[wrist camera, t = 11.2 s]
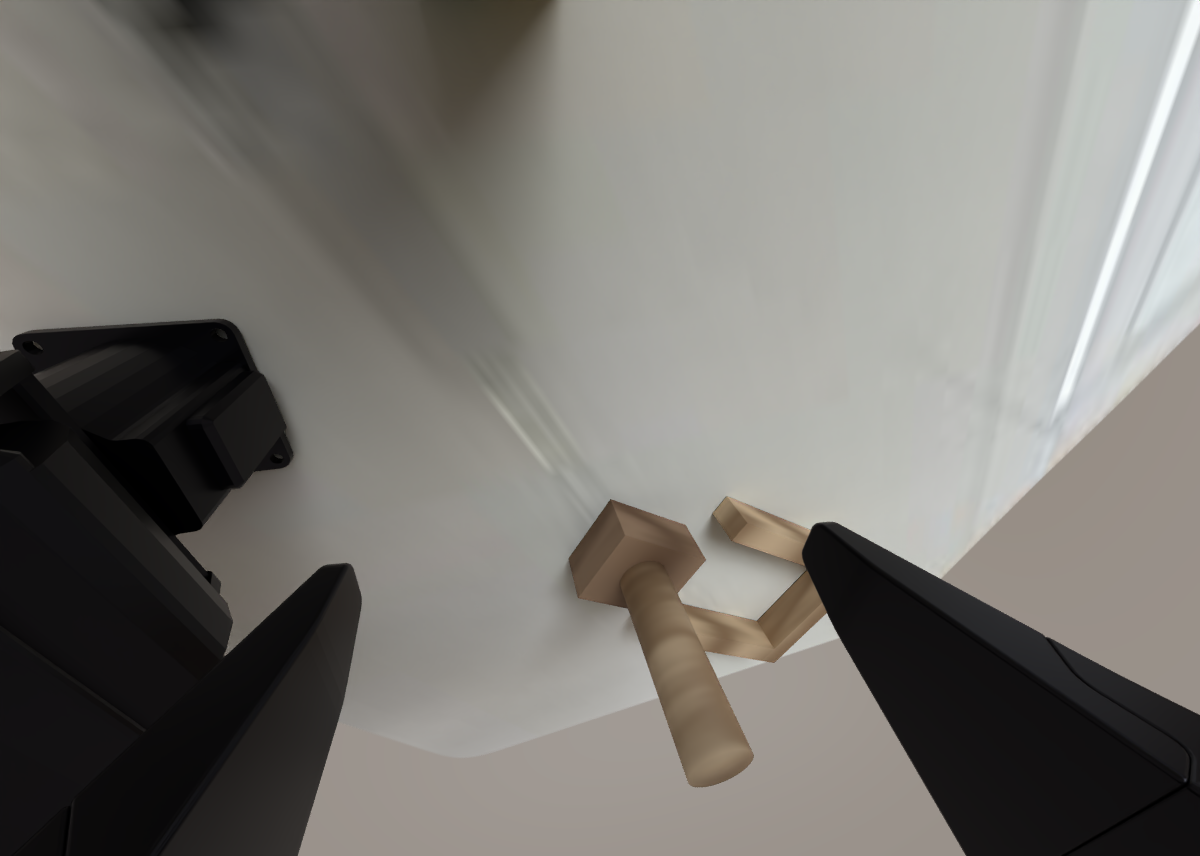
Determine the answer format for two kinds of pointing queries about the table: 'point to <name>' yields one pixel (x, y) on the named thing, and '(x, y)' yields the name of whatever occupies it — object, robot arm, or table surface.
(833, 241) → the table surface
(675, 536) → the dowel block
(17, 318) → the table surface
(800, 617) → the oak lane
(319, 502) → the table surface
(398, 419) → the table surface
